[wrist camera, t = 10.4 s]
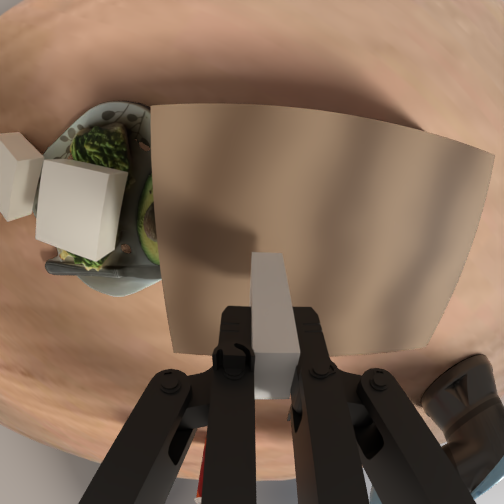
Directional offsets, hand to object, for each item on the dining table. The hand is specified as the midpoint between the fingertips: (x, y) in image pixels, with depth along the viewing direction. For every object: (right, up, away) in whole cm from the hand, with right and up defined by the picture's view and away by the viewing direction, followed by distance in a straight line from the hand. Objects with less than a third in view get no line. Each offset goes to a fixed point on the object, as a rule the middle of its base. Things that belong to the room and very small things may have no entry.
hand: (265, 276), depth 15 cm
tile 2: (-22, +9, +5) cm, 25 cm away
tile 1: (-13, +4, +2) cm, 14 cm away
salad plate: (-12, +6, +9) cm, 17 cm away
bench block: (+4, +5, +9) cm, 11 cm away
